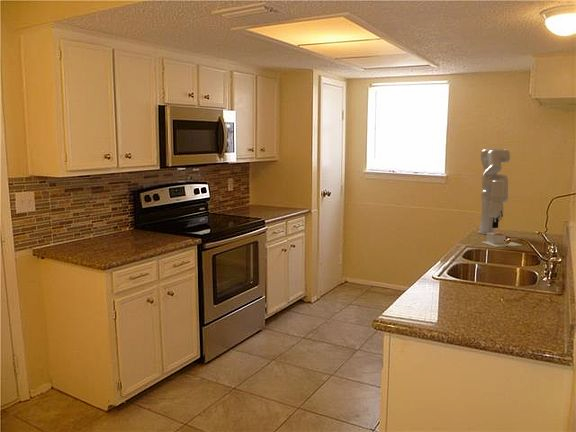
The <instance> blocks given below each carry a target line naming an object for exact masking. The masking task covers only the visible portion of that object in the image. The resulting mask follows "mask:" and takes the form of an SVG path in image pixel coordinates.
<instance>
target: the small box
mask: <svg viewBox="0 0 576 432" xmlns="http://www.w3.org/2000/svg"><path fill="white" fill-rule="evenodd" d="M506 238H507V237H506V234H504V233H501V232H499V231H496V233H493V232H487V234H486V241H488V242H491V243H493V244H505V242H504V240H505V241H506Z"/></svg>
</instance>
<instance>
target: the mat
mask: <svg viewBox="0 0 576 432" xmlns="http://www.w3.org/2000/svg"><path fill="white" fill-rule="evenodd" d="M480 243H482V244H484V245H488V246H491V247H494V248H509V247H523V246H524V245H523V244H520V243H517V242H513V241H511V242H510V243H509V244H493V243H491V242H488V241H487V240H486V241H481V242H480ZM506 246H508V247H506Z"/></svg>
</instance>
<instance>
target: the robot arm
mask: <svg viewBox="0 0 576 432" xmlns="http://www.w3.org/2000/svg"><path fill="white" fill-rule="evenodd" d="M510 160H511V153H510V151H509V149H507V148H486V149H485V148H484V149H482V150H481V151H480V161H481V164H482V168H483V173H482V175H481V189H482V191H481V193H480V194H481V195H480V197H481V217H480V219H481V220H480V226H478V229H479V230H478V231H477V232H478V234H481V235H487V232H493V233H496V232H497V231H496V229H498V228H499V222H500V221H502V219H503V217H504V203H507V201H508V199H509V180H508V179H509V178H508V176H507V175H506V174H501V173H500V172H501V170H502V168H503V167H502V163H508V162H510ZM498 173H500V174H498Z"/></svg>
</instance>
